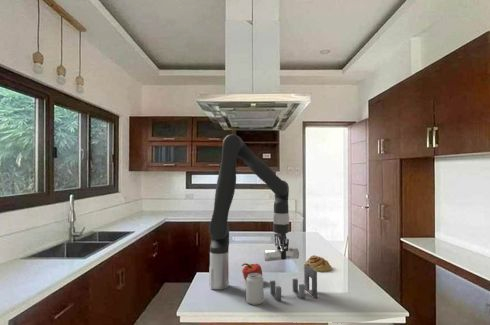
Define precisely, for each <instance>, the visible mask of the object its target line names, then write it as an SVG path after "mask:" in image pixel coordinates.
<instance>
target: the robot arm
mask: <svg viewBox="0 0 490 325" xmlns="http://www.w3.org/2000/svg"><path fill="white" fill-rule="evenodd" d="M221 147H222V151H221V162H220V166H219V172H218V175H217V181H216V186H215V193H214V204H213V211H212V215H211V218H210V219H211V220H210V223H209V226H208V233H209V236H210V245H209V267H208V268H209V269H208V270H209V272H208V274H209V278H208V279H209V280H208V281H209V284H208V285H209V287H210V289H211V290H218V291H219V290H226V289H228V288H229V287H230V276H229V275H230V270H229V269H230V267H229V266H230V263H229V254H230V253H229V250H230V248H229V246H230V226H229V222H228V219H229V218H228V217H229V213H230V208H231V206H232V202H233V199H234V195H235V190H236V185H237V171H236V170H237V169H236V168H237V167H236V165H237V160H238V158H239V159H241V161H243V162H244V163H245V165H247V166H248V168H249V169H250V170H251V171H252V173H254V175H256V176H257V177H258V179H260V180H261V181H262V182H263V183H264V184H265V185H266V186H267V187H268V188H269V190H270V191H272V192H273V193H274V203H273V222H272V224H273V225H272V226H273V233H274V234H273V236H274V245H275V247H276V250H278V249H281V259H282V260H281V261H286V260H285V259H286V251H288V249H289V242H290V239H289V238H287V234H288V233H289V232H290V215H289V213H290V212H289V196H290V193H289V192H290V191H289V190H290V187H289V184H288V182H287V181H286V180H282V179H281V178H280V177H279V176H278V175H276V172H275V171H273V169H272V168H271V167H269V166H268V165H267V164H266V163H265V162H264V161H263V160H262V159H260V158H259V157H258V156H256V154H254V152H253V151H252V150H251V149H250V148H249V147H248V146H247V144H246V143H245V142H244V141H243V139H242V137H241V136H238V135H236V134H228V135H226V136H225V137H224V139H223V141H222V146H221Z"/></svg>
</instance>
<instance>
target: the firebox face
mask: <svg viewBox="0 0 490 325" xmlns="http://www.w3.org/2000/svg"><path fill="white" fill-rule="evenodd" d="M303 271H304V273H303V274H304V275H303V276H304V279H303V280H304V283H303V284H304V285H305V292H307V293H308V294H309V295H310V294H311V295H312V296H313V297H312V296H311V295H310V296H311V297H312V298H314V299H315V300H317V299H318V272H317V271H315V270H314V269H312V268H311V267H309V266H308V265H307V264H305V263H304V267H303ZM310 278H311V290H310ZM316 298H317V299H316Z"/></svg>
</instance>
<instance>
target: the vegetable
mask: <svg viewBox="0 0 490 325" xmlns="http://www.w3.org/2000/svg"><path fill="white" fill-rule="evenodd" d="M241 267H243V268H242V272H241V273H242V276H243V279H244V281H245V282H246V278H247V277H248V274H250V273H259V274H261V275H262V276H263V270H262V267H261V265H260V264H259V263H250V264H249V263H246V262H244V263H243V264H241Z"/></svg>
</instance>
